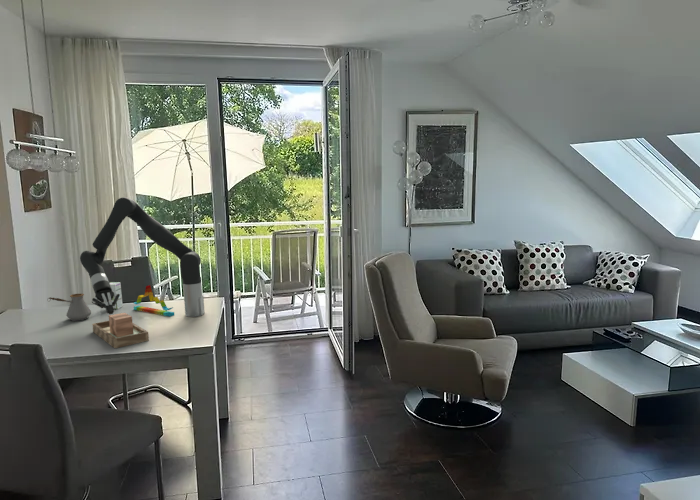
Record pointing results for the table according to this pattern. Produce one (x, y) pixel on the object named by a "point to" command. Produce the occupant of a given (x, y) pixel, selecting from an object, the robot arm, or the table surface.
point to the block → (121, 324)
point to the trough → (104, 332)
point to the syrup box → (117, 290)
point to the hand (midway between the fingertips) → (111, 313)
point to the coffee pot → (76, 307)
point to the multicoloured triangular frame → (156, 311)
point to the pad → (128, 335)
